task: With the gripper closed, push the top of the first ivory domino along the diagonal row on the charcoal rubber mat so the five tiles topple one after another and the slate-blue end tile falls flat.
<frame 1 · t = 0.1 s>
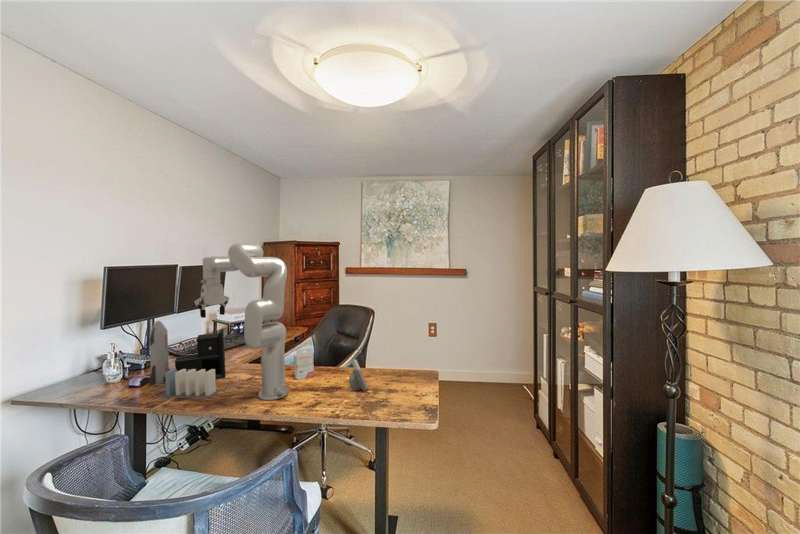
hand: (213, 316, 177), 31 cm above the table, tool pointing down, fingers open, 9 cm apart
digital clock: (359, 386, 163), on the table
domino 1: (210, 393, 156), resting on mat
black desk organizer: (199, 379, 176), on the table
ink cartridge box: (304, 377, 177), on the table
mat: (191, 394, 157), on the table
domino 3: (191, 393, 157), resting on mat
domino 5: (171, 393, 157), resting on mat
domino 2: (200, 393, 156), resting on mat
domino 4: (181, 393, 157), resting on mat
rocket model: (160, 382, 173), on the table
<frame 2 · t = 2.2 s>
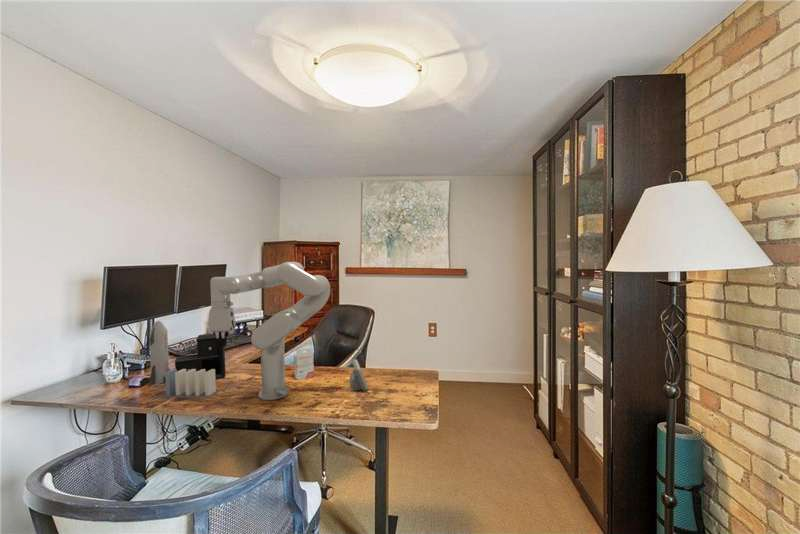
hand: (222, 346, 155), 21 cm above the table, tool pointing down, fingers closed
nothing on the table moved.
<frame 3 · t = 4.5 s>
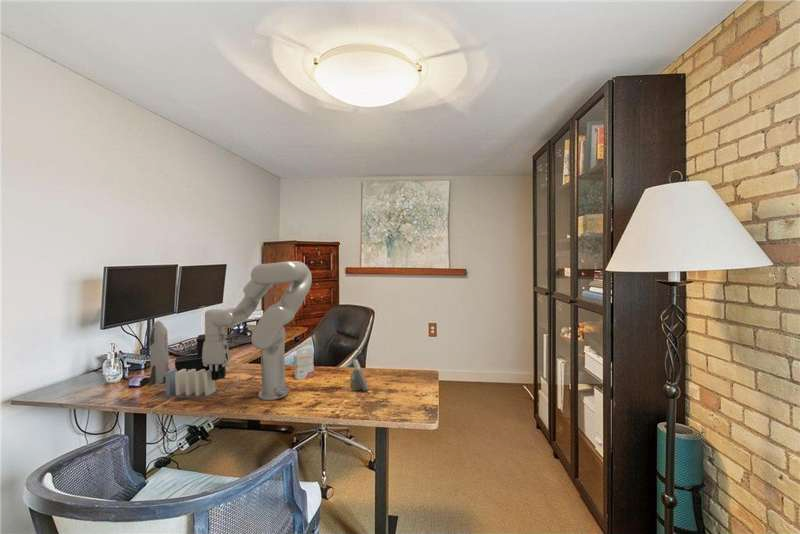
hand: (215, 379, 156), 7 cm above the table, tool pointing down, fingers closed
domino 1: (210, 393, 156), resting on mat, touching gripper
everything else where it was.
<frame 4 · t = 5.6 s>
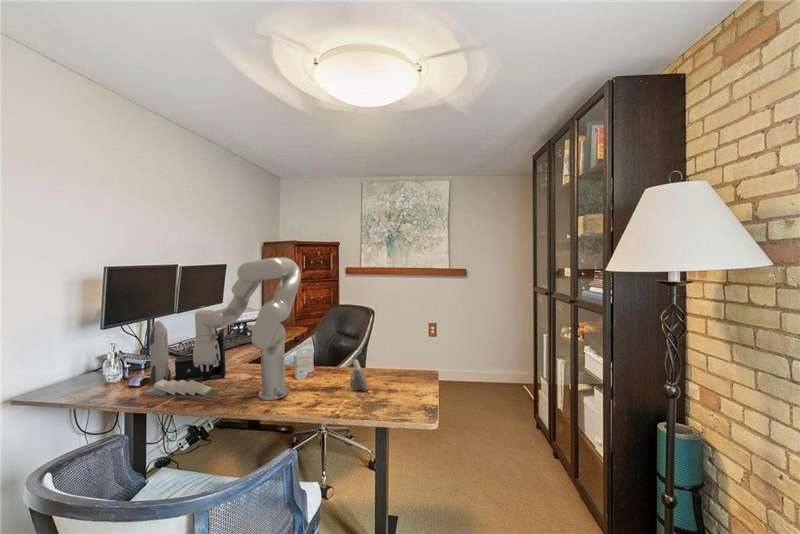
hand: (206, 379, 156), 7 cm above the table, tool pointing down, fingers closed
domino 1: (208, 391, 156), point 1 cm above the table, tilted 69°, touching domino 2, mat
domino 3: (188, 391, 157), point 1 cm above the table, tilted 69°, touching domino 2, domino 4, mat
domino 5: (169, 391, 157), point 1 cm above the table, tilted 93°, touching domino 4, mat
domino 2: (198, 391, 156), point 1 cm above the table, tilted 69°, touching domino 1, domino 3
domino 4: (178, 391, 157), point 1 cm above the table, tilted 69°, touching domino 3, domino 5
everything else where it was.
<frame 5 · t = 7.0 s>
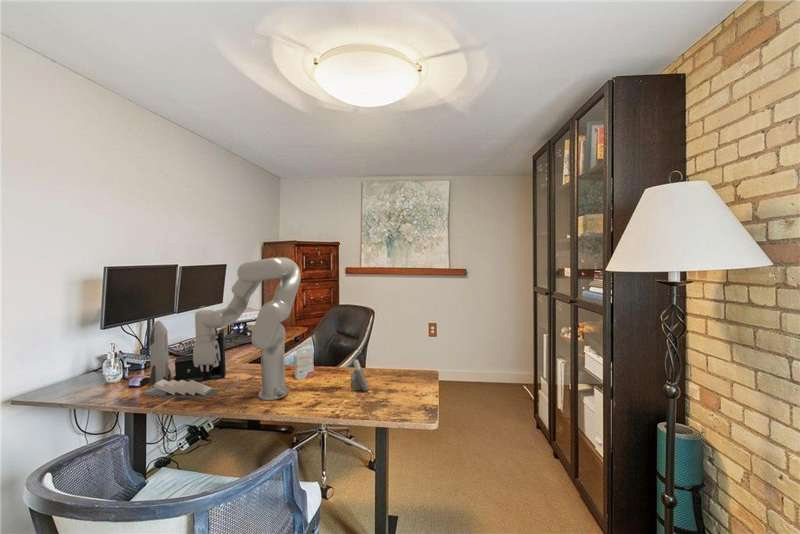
hand: (206, 379, 156), 6 cm above the table, tool pointing down, fingers closed
nothing on the table moved.
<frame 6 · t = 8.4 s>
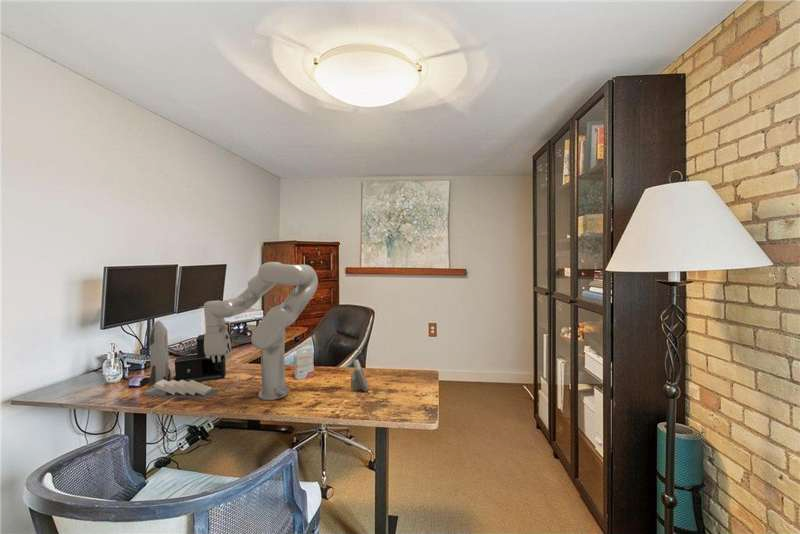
hand: (219, 370, 155), 11 cm above the table, tool pointing down, fingers closed
nothing on the table moved.
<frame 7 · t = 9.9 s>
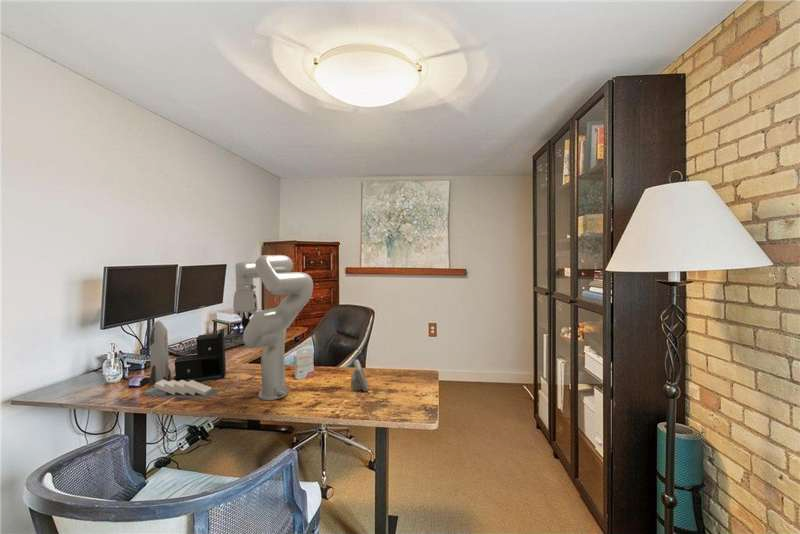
hand: (245, 326, 169), 27 cm above the table, tool pointing down, fingers closed
nothing on the table moved.
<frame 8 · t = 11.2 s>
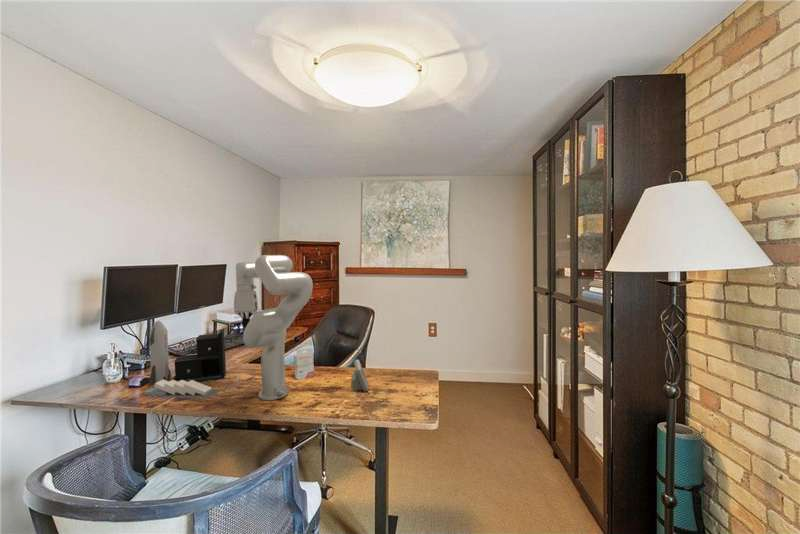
hand: (246, 326, 170), 27 cm above the table, tool pointing down, fingers closed
nothing on the table moved.
at the end: domino 5 tilted 93°; domino 1 tilted 69° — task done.
